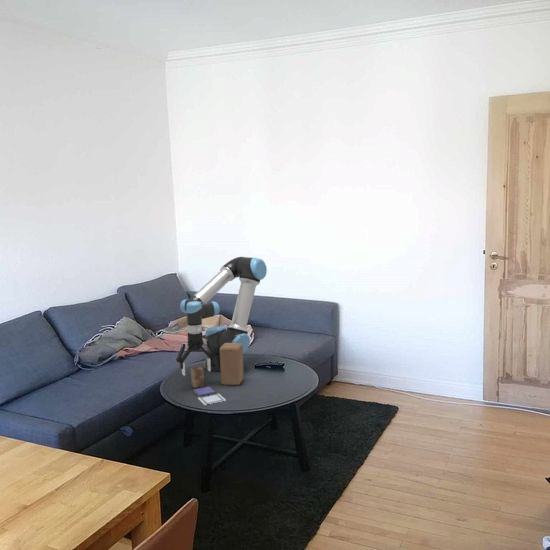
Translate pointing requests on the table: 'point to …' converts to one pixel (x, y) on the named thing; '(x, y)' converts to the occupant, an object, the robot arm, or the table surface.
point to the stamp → (197, 377)
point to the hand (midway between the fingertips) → (196, 372)
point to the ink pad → (204, 391)
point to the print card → (211, 399)
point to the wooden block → (231, 363)
